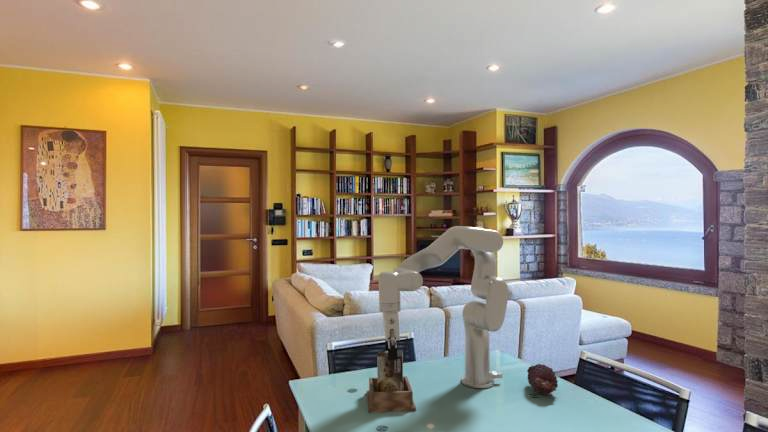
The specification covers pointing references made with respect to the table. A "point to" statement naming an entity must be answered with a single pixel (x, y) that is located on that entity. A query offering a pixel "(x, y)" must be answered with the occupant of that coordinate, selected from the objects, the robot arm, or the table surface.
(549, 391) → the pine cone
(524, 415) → the table surface
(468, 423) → the table surface
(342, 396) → the table surface
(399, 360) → the coffee box
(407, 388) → the holder
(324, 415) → the table surface
